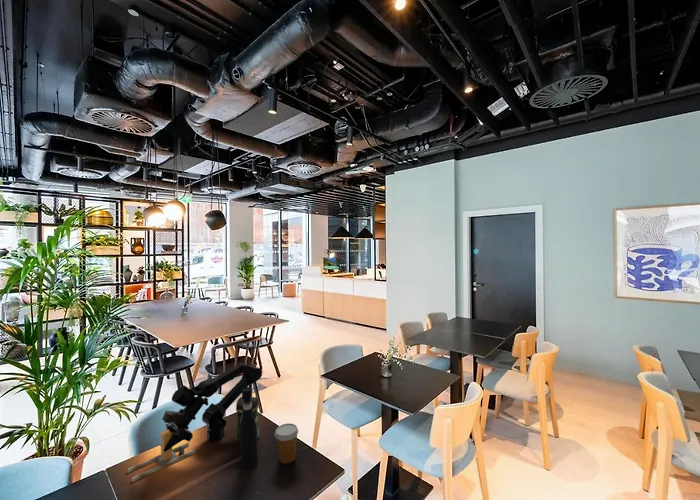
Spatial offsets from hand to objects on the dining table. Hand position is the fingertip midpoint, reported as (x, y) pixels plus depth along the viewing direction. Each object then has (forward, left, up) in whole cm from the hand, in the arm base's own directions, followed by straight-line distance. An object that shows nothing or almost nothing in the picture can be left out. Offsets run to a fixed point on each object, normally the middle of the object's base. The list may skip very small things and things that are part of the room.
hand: (162, 448), depth 126 cm
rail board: (0, 0, -7) cm, 7 cm away
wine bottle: (-24, +26, -7) cm, 36 cm away
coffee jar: (-32, +10, -7) cm, 34 cm away
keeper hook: (-7, 0, -6) cm, 9 cm away
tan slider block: (-1, 0, -5) cm, 5 cm away
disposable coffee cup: (-36, +35, -7) cm, 51 cm away
